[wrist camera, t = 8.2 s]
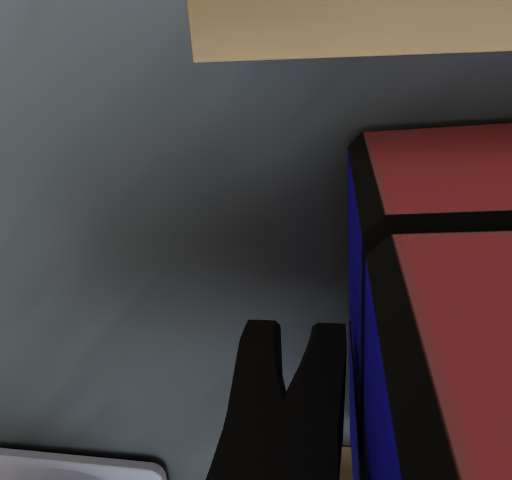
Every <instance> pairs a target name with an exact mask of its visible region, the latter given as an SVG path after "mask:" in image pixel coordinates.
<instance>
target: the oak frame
mask: <svg viewBox="0 0 512 480" xmlns="http://www.w3.org/2000/svg"><path fill="white" fill-rule="evenodd" d="M187 6H188V15H189V24H190V33H191V42H192V52H193V61H194V63H195V62H222V61H250V60H277V59H304V58H331V57H359V56H386V55H413V54H441V53H468V52H495V51H512V0H187ZM339 480H353V473H352V456H351V447H342V454H341V466H340V477H339Z"/></svg>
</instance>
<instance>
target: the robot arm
mask: <svg viewBox="0 0 512 480" xmlns="http://www.w3.org/2000/svg"><path fill="white" fill-rule="evenodd" d="M346 354H347V340H346V326H345V324H339V323H316V324H315V325H314V326H312V331H311V336H310V339H309V342H308V345H307V348H306V350H305V353H304V355H303V358H302V360H301V362H300V365H299V367H298V369H297V371H296V373H295V375H294V377H293V379H292V381H291V383H290V385H289V387H288V389H287V391H286V389H285V385H284V380H283V375H282V352H281V328H280V324H278V323H277V322H276V321H271V320H248V322H247V324H246V326H245V328H244V331H243V333H242V336H241V338H240V342H239V347H238V353H237V358H236V364H235V369H234V375H233V381H232V387H231V393H230V398H229V404H228V410H227V414H226V418H225V422H224V427H223V430H222V433H221V436H220V439H219V442H218V445H217V448H216V451H215V454H214V457H213V460H212V464H211V467H210V469H209V472H208V475H207V478H206V480H339V477H340V466H341V454H342V442H343V424H344V401H345V377H346ZM0 480H167V478H166V473H165V471H164V469H163V468H162V467H161V466H160V465H158V464H156V463H152V462H143V461H133V460H122V459H112V458H101V457H91V456H81V455H70V454H60V453H50V452H39V451H29V450H19V449H8V448H0Z"/></svg>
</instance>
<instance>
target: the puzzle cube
mask: <svg viewBox="0 0 512 480" xmlns="http://www.w3.org/2000/svg"><path fill="white" fill-rule="evenodd" d="M348 243H349V309H350V321H349V362H350V438H351V456H352V473H353V480H512V123H501V124H485V125H469V126H453V127H437V128H421V129H405V130H389V131H373V132H362V133H361V134H360V135H359V136H358V137H357V138H356V139H355V140H354V141H353V142H352V143H351V144H350V145H349V146H348Z"/></svg>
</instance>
